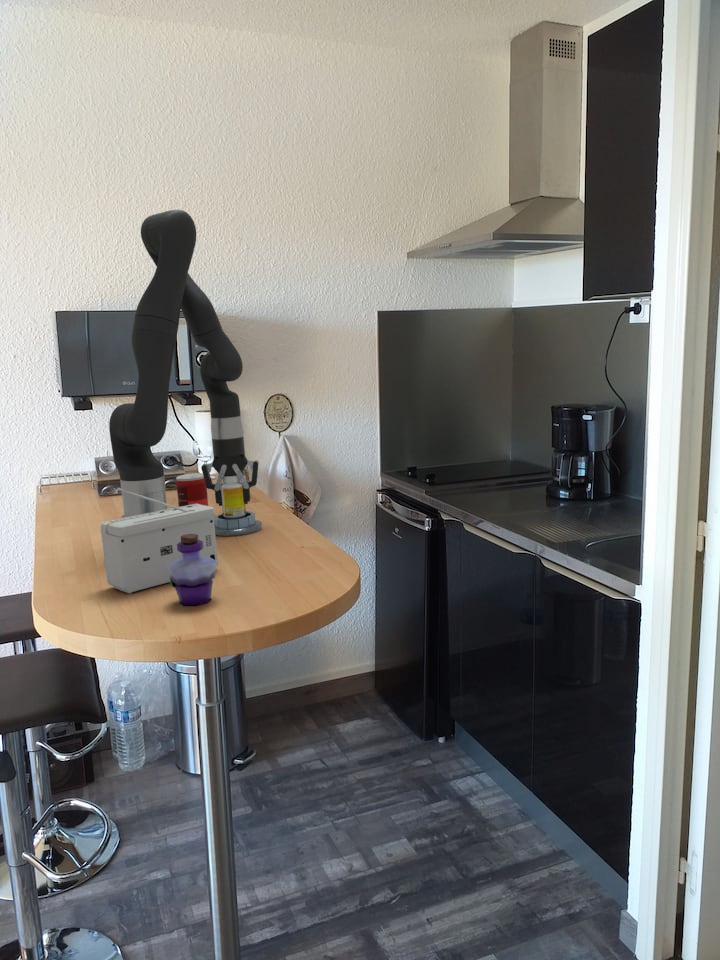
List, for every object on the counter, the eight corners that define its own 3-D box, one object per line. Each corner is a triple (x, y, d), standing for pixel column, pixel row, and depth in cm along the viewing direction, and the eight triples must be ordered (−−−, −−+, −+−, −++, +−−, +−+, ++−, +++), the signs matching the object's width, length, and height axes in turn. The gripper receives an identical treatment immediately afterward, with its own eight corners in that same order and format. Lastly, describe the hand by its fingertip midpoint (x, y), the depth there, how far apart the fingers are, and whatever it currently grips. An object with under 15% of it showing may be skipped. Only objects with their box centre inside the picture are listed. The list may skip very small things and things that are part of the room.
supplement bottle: (249, 516, 184) (246, 474, 182) (228, 520, 181) (224, 478, 179) (240, 512, 188) (236, 472, 186) (219, 516, 185) (215, 475, 183)
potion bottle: (170, 596, 136) (164, 532, 134) (219, 590, 138) (213, 527, 136) (169, 612, 128) (163, 543, 126) (221, 605, 130) (215, 538, 128)
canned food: (213, 512, 207) (210, 473, 205) (201, 519, 199) (197, 478, 197) (188, 512, 208) (184, 473, 207) (174, 519, 201) (170, 478, 199)
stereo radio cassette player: (202, 563, 157) (193, 469, 153) (223, 571, 151) (214, 472, 147) (105, 588, 143) (93, 485, 140) (124, 598, 137) (112, 490, 134)
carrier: (242, 538, 176) (241, 523, 176) (197, 534, 182) (196, 520, 181) (272, 525, 188) (271, 510, 187) (229, 522, 193) (228, 508, 193)
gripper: (195, 439, 177) (202, 509, 180) (256, 435, 178) (262, 505, 181) (199, 435, 184) (205, 503, 187) (258, 432, 185) (264, 499, 188)
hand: (233, 504), depth 184 cm, fingers closed on supplement bottle, 5 cm apart
